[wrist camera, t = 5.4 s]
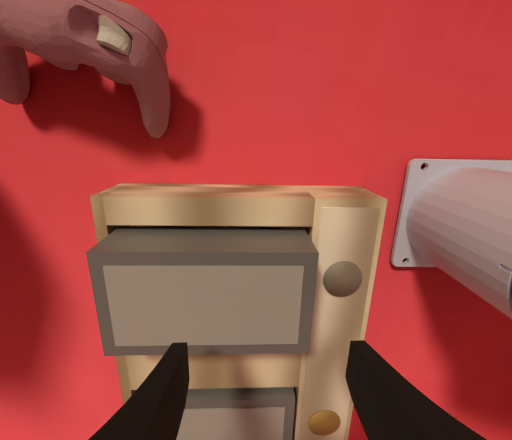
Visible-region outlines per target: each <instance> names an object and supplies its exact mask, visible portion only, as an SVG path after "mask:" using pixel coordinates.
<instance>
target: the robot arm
mask: <svg viewBox="0 0 512 440" xmlns="http://www.w3.org/2000/svg"><path fill="white" fill-rule="evenodd" d="M423 163H424V164H425V167H424V169H421V165H422V164H423ZM405 258H406V261H404V262H402V261H403V259H405ZM391 263H392V264H393V265H394V266H396V267H438V268H439V269H441V270H442V271H444V272H445V273H446V274H448V275H449V276H451V277H452V278H454V279H455V280H456V281H458V282H459V283H461V284H462V285H463V286H465V287H466V288H468V289H469V290H471V291H472V292H473V293H475V294H476V295H478V296H479V297H481V298H482V299H483V300H485V301H486V302H488V303H489V304H490V305H492V306H493V307H495V308H496V309H498V310H499V311H500V312H502V313H503V314H505V315H506V316H507V317H509V318H510V319H512V160H467V159H412V160H411V161H410V162H409V163H408V166H407V171H406V176H405V182H404V187H403V193H402V198H401V204H400V209H399V215H398V221H397V226H396V232H395V237H394V243H393V248H392V254H391ZM345 378H346V382H347V385H348V389H349V392H350V395H351V398H352V402H353V404H354V406H355V409H356V411H357V414H358V416H359V418H360V421H361V423H362V426H363V428H364V430H365V433H366V435H367V437H368V440H486V439H485V438H483V437H482V436H480V435H479V434H477V433H476V432H474V431H473V430H471V429H470V428H468V427H467V426H465V425H464V424H462V423H461V422H459V421H458V420H456V419H455V418H454V417H452V416H451V415H450V414H448V413H447V412H446V411H444V410H443V409H442V408H440V407H439V406H437V405H436V404H435V403H434V402H432V401H431V400H430V399H429V398H427V397H426V396H425V395H424V394H423V393H421V392H420V391H419V390H418V389H416V388H415V387H414V386H413V385H412V384H411V383H409V382H408V381H407V380H406V379H405V378H404V377H403V376H402V375H400V374H399V373H398V372H397V371H396V370H395V369H394V368H393V367H392V366H391V365H390V364H388V363H387V362H386V361H385V360H384V359H383V358H382V357H381V356H380V355H379V354H378V353H377V352H376V351H375V350H374V349H373V348H372V347H371V346H370V345H368V344H367V343H366V342H365V341H364V340H356V341H350V348H349V354H348V361H347V368H346V375H345ZM189 380H190V377H189V362H188V347H187V342H180V343H172V344H171V345H170V346H169V348H168V349H167V351H166V352H165V354H164V355H163V357H162V358H161V359H160V361H159V362H158V363H157V365H156V366H155V367H154V369H153V370H152V371H151V373H150V374H149V375H148V376H147V378H146V379H145V380H144V382H143V383H142V384H141V385H140V386H139V388H138V389H137V390H136V391H135V392H134V393H133V395H132V396H131V397H130V398H129V399H128V400H127V401H126V403H125V404H124V405H123V406H122V407H121V408H120V409H119V410H118V411H117V412H116V413H115V414H114V415H113V416H112V417H111V418H110V419H109V420H108V421H107V422H106V423H105V424H104V425H103V426H102V427H101V428H100V429H99V430H98V431H97V432H96V433H95V434H94V435H93V436H92V437H91V438H90V439H89V440H176V439H177V435H178V431H179V428H180V424H181V420H182V416H183V413H184V409H185V405H186V399H187V393H188V387H189Z"/></svg>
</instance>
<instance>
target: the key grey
mask: <svg viewBox="0 0 512 440" xmlns="http://www.w3.org/2000/svg"><path fill="white" fill-rule="evenodd" d="M86 254H87V259H88V265H89V271H90V276H91V282H92V288H93V294H94V299H95V305H96V311H97V316H98V322H99V328H100V333H101V339H102V345H103V351H104V356H129V355H164V354H165V352H166V351H167V349H168V348H169V346H170V345H171V344H172V343H180V342H187V347H188V355H205V354H280V353H309V352H310V342H311V331H312V321H313V310H314V300H315V290H316V279H317V269H318V258H319V252H318V250H317V249H316V247H315V245H314V244H313V242H312V240H311V239H310V237H309V236H308V234H307V232H306V231H305V229H262V228H117V229H116V230H114V231H113V232H112V233H111V234H109V235H108V236H107V237H105V238H104V239H103V240H101V241H100V242H99V243H97V244H96V245H95V246H94V247H92V248H91V249H90V250H88V251H87V252H86Z"/></svg>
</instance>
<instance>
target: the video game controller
mask: <svg viewBox="0 0 512 440" xmlns="http://www.w3.org/2000/svg"><path fill="white" fill-rule="evenodd" d="M167 47H168V46H167V40H166V37H165V34H164V32H163V31H162V29H161V28H160V27H159V26H158V24H157V23H156V22H154V21H153V20H152V19H151V18H150V17H149V16H147V15H146V14H145V13H143V12H142V11H141V10H139V9H138V8H136V7H134V6H132V5H130V4H127V3H125V2H121V1H115V0H0V98H1V99H2V100H4V101H6V102H8V103H11V104H15V105H17V104H21V103H22V102H24V101H25V99H26V98H27V97H28V94H29V91H30V73H29V67H28V62H27V58H26V54H25V51H24V49H25V50H26V51H28V52H31V53H33V54H35V55H37V56H40V57H42V58H43V59H44V60H46V61H47V62H49V63H51V64H53V65H55V66H57V67H59V68H62V69H66V70H77V69H78V67H79V64H85V65H89V66H93V67H95V69H96V70H97V71H98V72H99V73H100V74H102V75H103V76H104V77H106V78H108V79H110V80H112V81H114V82H117V83H120V84H125V85H129V84H131V85H132V87H133V89H134V92H135V94H136V97H137V100H138V103H139V108H140V112H141V116H142V121H143V125H144V127H145V129H146V130H147V132H148V134H149V135H150V136H151V137H152V138H156V139H157V138H160V137H161V136H162V135H163V134H164V133H165V131H166V129H167V127H168V123H169V117H170V106H171V99H170V85H169V78H168V71H167V64H166V57H165V56H166V51H167Z"/></svg>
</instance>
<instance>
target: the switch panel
mask: <svg viewBox="0 0 512 440" xmlns="http://www.w3.org/2000/svg"><path fill="white" fill-rule="evenodd" d="M90 199H91V205H92V212H93V218H94V224H95V230H96V237H97V243H99V242H100V241H101V240H103V239H104V238H105V237H107V236H108V235H109V234H111V233H112V232H113V231H114V230H116V229H117V228H262V229H305V231H306V232H307V234H308V236H309V237H310V239H311V240H312V242H313V244H314V245H315V247H316V249H317V250H318V252H319V258H318V269H317V279H316V290H315V300H314V310H313V321H312V331H311V342H310V352H309V353H280V354H205V355H188V362H189V377H190V380H189V387H188V389H214V388H268V387H293V389H294V394H295V410H294V422H293V435H292V440H348V436H349V429H350V423H351V417H352V411H353V405H354V404H353V402H352V398H351V395H350V392H349V389H348V385H347V382H346V378H345V375H346V368H347V361H348V354H349V348H350V341H356V340H364V339H365V333H366V327H367V321H368V315H369V309H370V302H371V296H372V290H373V284H374V278H375V272H376V266H377V260H378V254H379V248H380V242H381V236H382V230H383V224H384V218H385V212H386V206H387V199H385V198H383V197H381V196H379V195H377V194H375V193H373V192H371V191H369V190H367V189H364V188H362V187H360V186H294V185H218V184H141V183H120V184H118V185H116V186H113V187H111V188H108V189H106V190H104V191H101V192H99V193H97V194H94V195H92V196H90ZM162 357H163V355H129V356H116V361H117V367H118V373H119V380H120V386H121V392H122V398H123V405H124V404H125V403H126V401H127V400H128V399H129V398H130V397H131V396H132V395H133V393H134V392H135V391H136V390H137V389H138V388H139V386H140V385H141V384H142V383H143V382H144V380H145V379H146V378H147V376H148V375H149V374H150V373H151V371H152V370H153V369H154V367H155V366H156V365H157V363H158V362H159V361H160V359H161V358H162Z"/></svg>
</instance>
